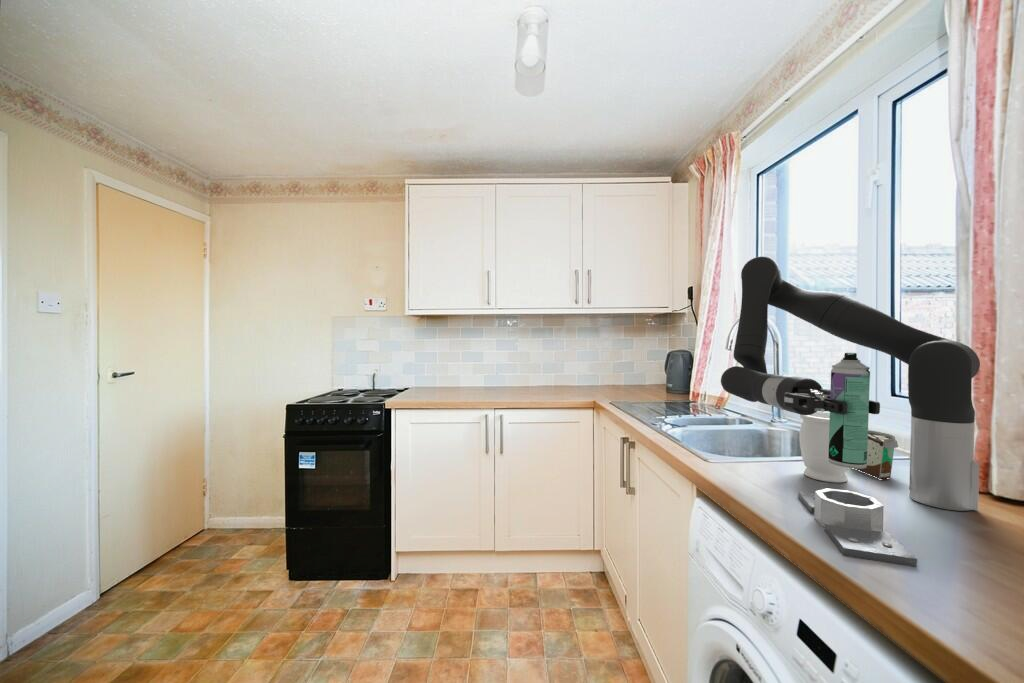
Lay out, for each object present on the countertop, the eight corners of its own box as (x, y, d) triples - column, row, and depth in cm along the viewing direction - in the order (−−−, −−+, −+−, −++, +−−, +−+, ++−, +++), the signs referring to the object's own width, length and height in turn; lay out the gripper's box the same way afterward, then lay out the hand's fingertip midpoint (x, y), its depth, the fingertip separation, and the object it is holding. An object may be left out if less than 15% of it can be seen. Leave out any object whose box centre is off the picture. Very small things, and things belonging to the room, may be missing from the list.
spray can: (859, 461, 80) (862, 352, 79) (872, 470, 74) (876, 354, 74) (823, 458, 81) (827, 351, 81) (834, 466, 76) (838, 353, 76)
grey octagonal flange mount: (849, 502, 89) (850, 478, 88) (917, 566, 64) (917, 533, 64) (798, 496, 92) (798, 473, 92) (843, 555, 67) (844, 523, 67)
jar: (850, 475, 106) (851, 414, 106) (855, 488, 97) (857, 421, 97) (798, 468, 112) (799, 410, 111) (799, 479, 103) (800, 416, 103)
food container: (911, 482, 101) (913, 440, 101) (885, 482, 101) (886, 439, 101) (869, 466, 113) (870, 428, 113) (845, 466, 114) (846, 428, 113)
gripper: (759, 376, 91) (823, 386, 74) (823, 376, 92) (901, 386, 75) (758, 411, 91) (822, 430, 75) (822, 411, 93) (899, 429, 76)
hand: (861, 408), depth 75 cm, fingers closed on spray can, 5 cm apart
